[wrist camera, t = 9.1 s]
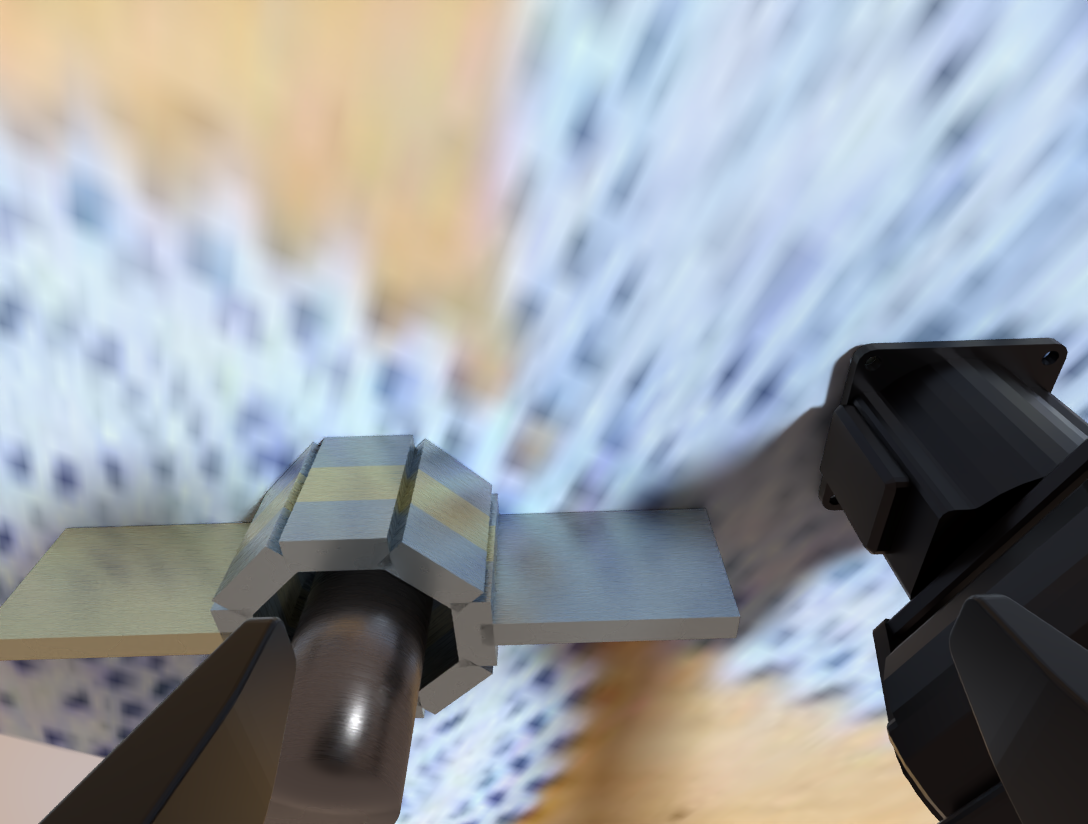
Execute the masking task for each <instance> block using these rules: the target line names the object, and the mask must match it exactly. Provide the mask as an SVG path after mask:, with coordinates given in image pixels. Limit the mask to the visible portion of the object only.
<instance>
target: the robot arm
mask: <svg viewBox="0 0 1088 824" xmlns="http://www.w3.org/2000/svg"><path fill="white" fill-rule="evenodd" d="M1048 352H1050V353H1049V354H1048V356H1046V357H1045V358H1043V356H1044V355H1045V354H1046V353H1048ZM1067 353H1068V352H1067V349H1066V347H1065V346H1063V345H1062V344H1061V343H1059V342H1058V341H1056V340H1055V339H1052V338H1027V339H996V340H964V341H933V342H902V343H871V344H866V345H864V346H862V347H860V348H859V349H858V350H857V351H856V352H855V353H854V355H853V357H852V360H851V364H850V368H849V372H848V376H847V380H846V384H845V388H844V392H843V396H842V400H841V404H840V405H839V406H838V407H837V408H836V410H835V411H834V412H833V416H832V420H831V425H830V429H829V433H828V437H827V441H826V445H825V449H824V453H823V457H822V461H821V466H820V471H821V473H822V474H823V477H822V481H821V485H820V489H819V493H818V495H819V499H820V500H821V502H822V504H823V506H824V507H825V508H826V509H828V510H843V511H844V513H845V514H846V516H847V518H848V520H849V521H850V523H851V525H852V526H853V528H854V530H855V532H856V533H857V535H858V537H859V539H860V540H861V542H862V544H863V546H864V547H865V548H866V549H867V550H868V551H869V552H870V553H871V554H883V555H884V557H885V559H886V560H887V562H888V564H889V565H890V567H891V569H892V570H893V572H894V574H895V575H896V577H897V579H898V580H899V582H900V584H901V585H902V587H903V589H904V590H905V592H906V594H907V595H908V597H909V599H910V600H911V601H910V602H909V603H907V604H906V605H905V606H904V607H903V608H902V609H901V610H900V611H899V612H898V613H897V614H896V615H894V616H893V617H892V618H891V619H885V620H884V621H882V622H881V623H880V624H879V625H878V626H877V627H876V628H875V629H874V630H873V637H874V643H875V649H876V654H877V660H878V666H879V671H880V677H881V683H882V688H883V694H884V699H885V705H886V711H887V716H888V722H889V723H888V724H887V731H888V736H889V740H890V742H891V744H892V745H893V747H894V750H895V754H896V757H897V759H898V761H899V763H900V766H901V769H902V772H903V774H904V775H905V777H906V778H907V779H908V781H909V782H910V784H911V785H912V787H913V789H914V790H915V792H916V793H917V795H918V796H919V797H920V799H921V800H922V801H923V803H924V804H925V805H926V806H927V808H928V809H929V810H930V811H931V813H932V814H933V815H934V816H935V817H936V818H937V819H938V820H939V821H940V822H939V823H937V824H1088V423H1087V422H1085V421H1084V420H1083V419H1082V418H1081V417H1079V416H1078V415H1077V414H1076V413H1074V412H1073V411H1072V410H1071V409H1070V408H1068V407H1067V406H1066V405H1065V404H1063V403H1062V402H1061V401H1060V400H1058V399H1057V398H1056V397H1055V396H1054V395H1052V394H1051V391H1052V389H1053V387H1054V384H1055V382H1056V380H1057V378H1058V375H1059V373H1060V371H1061V369H1062V366H1063V364H1064V362H1065V360H1066V357H1067ZM875 356H876V358H875V360H874V361H873V362H872V363H871V364H867V365H865V363H866V361H867V360H868V359H869V358H871V357H875ZM833 495H835V497H833V498H831V497H832V496H833ZM295 674H296V657H295V654H294V651H293V648H292V645H291V642H290V639H289V637H288V634H287V631H286V628H285V625H284V623H283V621H282V620H281V619H280V618H278V617H254V618H250V619H247V620H246V621H244V622H243V623H242V624H241V625H240V626H239V627H238V628H237V629H236V630H235V631H234V632H233V633H232V634H231V635H230V636H229V637H228V638H227V639H226V640H225V641H224V642H223V643H221V644H220V645H219V646H218V647H217V648H216V649H215V650H214V651H213V652H212V653H211V654H210V655H209V656H208V657H207V658H206V659H205V660H204V661H203V662H202V663H201V664H200V665H199V666H198V667H197V668H196V669H195V670H194V671H193V672H192V673H191V674H190V675H189V676H188V677H187V678H186V679H185V680H184V681H183V682H182V683H181V684H180V685H179V686H178V687H177V688H176V689H175V690H174V691H173V692H172V693H171V694H170V695H169V696H168V697H167V698H166V699H165V700H164V701H163V702H162V703H161V704H160V705H159V706H157V707H156V708H155V709H154V710H153V711H152V712H151V713H150V714H149V715H148V716H147V717H146V718H145V719H144V720H143V721H142V722H141V723H140V724H139V725H138V726H137V727H136V728H135V729H134V730H133V731H132V732H131V733H130V734H129V735H128V736H127V737H126V738H125V739H124V740H123V741H122V742H121V743H120V744H119V745H118V746H117V747H116V748H115V749H114V750H113V751H112V752H111V753H110V754H109V755H108V756H107V757H106V758H105V759H104V760H103V761H102V762H101V763H100V764H99V765H98V766H97V767H96V768H94V770H93V771H92V772H91V773H89V774H88V775H87V777H85V778H84V779H83V780H82V781H81V782H80V783H79V784H78V785H77V786H76V787H75V788H74V789H73V790H72V791H71V792H70V793H69V794H68V795H67V796H66V797H65V798H64V799H63V800H62V801H61V802H60V803H59V804H58V805H57V806H56V807H55V808H54V809H53V810H52V811H51V812H50V813H49V814H48V815H47V816H46V817H45V818H44V819H43V820H42V821H41V822H40V823H39V824H264V820H265V817H266V814H267V811H268V807H269V803H270V800H271V796H272V792H273V788H274V783H275V779H276V774H277V769H278V764H279V759H280V753H281V748H282V743H283V738H284V732H285V727H286V722H287V717H288V711H289V706H290V701H291V696H292V690H293V685H294V680H295Z"/></svg>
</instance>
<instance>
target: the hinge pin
mask: <svg viewBox="0 0 1088 824" xmlns="http://www.w3.org/2000/svg"><path fill="white" fill-rule="evenodd" d="M433 600H434V598H432V597H430V596H428V595H427V594H425V593H423V592H422V591H420V590H418V589H417V588H415V587H413V586H412V585H410V584H408V583H406V582H405V581H403V580H401V579H400V578H398V577H396V576H395V575H393V574H391V573H389V572H388V571H386V570H384V569H374V570H342V571H317V572H316V574H315V577H314V580H313V583H312V586H311V588H310V591H309V594H308V597H307V600H306V602H305V605H304V608H303V611H302V613H301V616H300V619H299V622H298V625H297V627H296V630H295V633H294V636H293V639H292V641H291V645H292V648H293V651H294V654H295V657H296V674H295V680H294V685H293V690H292V696H291V701H290V706H289V711H288V717H287V722H286V727H285V732H284V738H283V743H282V748H281V753H280V759H279V764H278V769H277V774H276V779H275V783H274V788H273V792H272V796H271V800H270V803H269V807H268V811H267V814H266V817H265V820H264V824H394V823H395V822H396V821H397V819H398V817H399V814H400V810H401V803H402V797H403V791H404V784H405V778H406V771H407V765H408V759H409V752H410V746H411V740H412V733H413V727H414V721H415V714H416V708H417V702H418V695H419V689H420V683H421V676H422V670H423V664H424V657H425V651H426V645H427V638H428V632H429V626H430V619H431V613H432V607H433Z"/></svg>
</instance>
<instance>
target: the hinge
mask: <svg viewBox="0 0 1088 824" xmlns="http://www.w3.org/2000/svg"><path fill="white" fill-rule="evenodd" d="M491 492H492V485H491V484H490V483H488V482H487V481H485V480H484V479H482V478H481V477H480V476H478V475H477V474H475V473H474V472H472V471H471V470H470V469H468V468H467V467H465V466H464V465H462V464H461V463H460V462H458V461H457V460H455V459H454V458H452V457H451V456H450V455H448V454H447V453H445V452H444V451H442V450H441V449H440V448H438V447H437V446H435V445H434V444H432V443H431V442H430V441H428V440H427V439H424V440H423V441H422V442H421V443H420V444H419V445H418V446H417V447H416V448H415V446H414V440H413V435H394V436H362V437H331V438H324V440H323V442H322V444H321V447H320V446H319V445H317V444H316V443H314V442H313V443H312V444H311V445H310V446H309V447H308V448H307V450H306V451H305V452H304V453H303V454H302V455H301V456H300V457H299V458H298V459H297V460H296V461H295V462H294V464H293V465H292V466H291V467H290V468H289V469H288V470H287V471H286V472H285V473H284V474H283V475H282V476H281V478H280V479H279V480H278V481H277V482H276V483H275V484H274V485H273V486H272V487H271V488H270V489H269V490H268V492H267V493H266V495H265V497H264V499H263V501H262V503H261V505H260V507H259V509H258V511H257V513H256V515H255V517H254V518H253V520H252V522H251V523H223V524H191V525H159V526H127V527H95V528H66V529H65V531H64V532H63V533H62V534H61V535H60V537H59V538H58V539H57V540H56V541H55V543H54V544H53V545H52V546H51V547H50V549H49V550H48V551H47V552H46V553H45V555H44V556H43V557H42V558H41V559H40V561H39V562H38V563H37V564H36V565H35V567H34V568H33V569H32V570H31V571H30V573H29V574H28V575H27V576H26V577H25V579H24V580H23V581H22V582H21V583H20V585H19V586H18V587H17V588H16V589H15V591H14V592H13V593H12V594H11V595H10V597H9V598H8V599H7V600H6V601H5V603H4V604H3V605H2V606H1V607H0V661H4V660H37V659H69V658H102V657H134V656H167V655H199V654H211V653H212V652H213V651H214V650H215V649H216V648H217V647H218V646H219V645H220V644H221V643H223V642H224V641H225V640H226V639H227V638H228V637H229V636H230V635H231V634H232V633H233V632H234V631H235V630H236V629H237V628H238V627H239V626H240V625H241V624H242V623H243V622H244V621H246V620H247V619H250V618H254V617H278V618H280V619H281V620H282V621H283V623H284V625H285V628H286V631H287V634H288V637H289V639H290V642H291V641H292V639H293V636H294V633H295V630H296V627H297V625H298V622H299V619H300V616H301V613H302V611H303V608H304V605H305V602H306V600H307V597H308V594H309V591H310V588H311V586H312V583H313V580H314V577H315V574H316V572H317V571H342V570H374V569H384V570H386V571H388V572H389V573H391V574H393V575H395V576H396V577H398V578H400V579H401V580H403V581H405V582H406V583H408V584H410V585H412V586H413V587H415V588H417V589H418V590H420V591H422V592H423V593H425V594H427V595H428V596H430V597H432V598H434V600H433V607H432V613H431V619H430V626H429V632H428V638H427V645H426V651H425V657H424V664H423V670H422V676H421V683H420V689H419V695H418V702H417V708H416V714H415V718H424V713H425V709H426V710H428V711H430V712H432V713H433V714H436V713H438V712H439V711H441V710H442V709H443V708H445V707H446V706H448V705H449V704H451V703H452V702H453V701H455V700H456V699H458V698H459V697H460V696H462V695H463V694H465V693H466V692H467V691H469V690H470V689H472V688H473V687H475V686H476V685H477V684H479V683H480V682H482V681H483V680H484V679H486V678H487V677H489V676H490V675H491V674H493V666H497V656H498V645H523V644H556V643H588V642H621V641H653V640H686V639H718V638H736V636H737V631H738V626H739V621H740V614H739V611H738V608H737V605H736V602H735V599H734V596H733V592H732V589H731V586H730V583H729V580H728V577H727V574H726V571H725V568H724V565H723V561H722V558H721V555H720V552H719V549H718V546H717V543H716V540H715V537H714V534H713V530H712V527H711V524H710V521H709V518H708V515H707V512H706V509H705V508H702V509H670V510H638V511H606V512H574V513H542V514H510V515H499V506H498V494H491Z"/></svg>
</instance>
